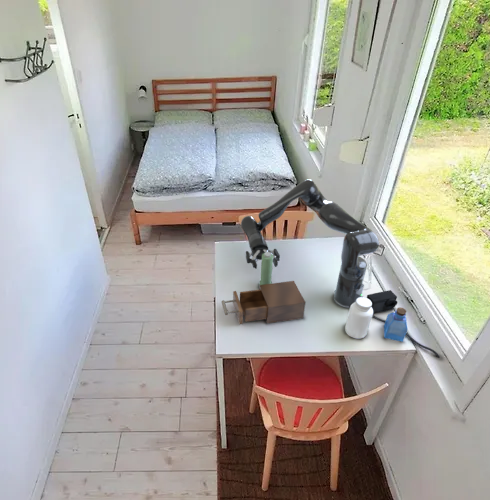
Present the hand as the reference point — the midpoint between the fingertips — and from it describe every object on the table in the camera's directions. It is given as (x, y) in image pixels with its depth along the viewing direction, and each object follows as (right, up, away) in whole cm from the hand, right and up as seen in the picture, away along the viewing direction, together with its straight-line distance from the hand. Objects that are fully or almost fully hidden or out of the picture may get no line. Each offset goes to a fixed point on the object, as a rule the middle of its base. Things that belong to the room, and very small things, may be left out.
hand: (266, 266), depth 160 cm
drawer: (-9, -18, -8) cm, 22 cm away
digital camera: (+44, -17, -8) cm, 48 cm away
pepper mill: (+1, -9, +5) cm, 11 cm away
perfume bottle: (+45, -25, -18) cm, 54 cm away
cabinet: (+5, -17, -6) cm, 19 cm away
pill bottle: (+31, -24, -17) cm, 43 cm away
